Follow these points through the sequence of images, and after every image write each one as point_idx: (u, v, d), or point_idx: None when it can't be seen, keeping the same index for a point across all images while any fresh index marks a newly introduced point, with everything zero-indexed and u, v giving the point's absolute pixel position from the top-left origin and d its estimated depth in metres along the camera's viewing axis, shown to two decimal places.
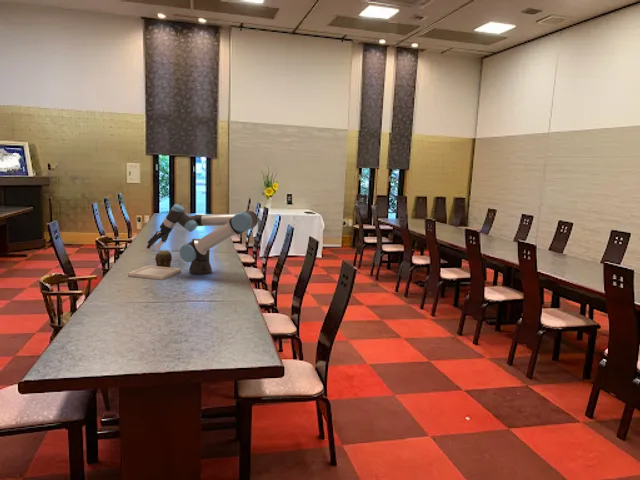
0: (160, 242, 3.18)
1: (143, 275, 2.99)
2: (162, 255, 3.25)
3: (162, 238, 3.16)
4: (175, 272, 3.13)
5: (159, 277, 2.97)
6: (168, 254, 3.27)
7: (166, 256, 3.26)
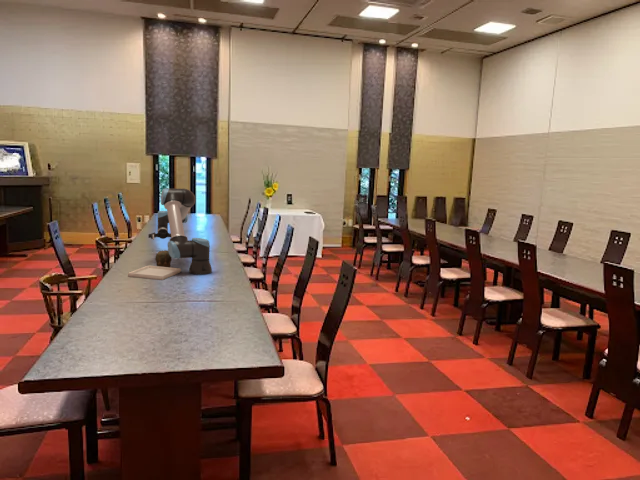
0: None
1: (143, 275, 2.99)
2: (162, 255, 3.25)
3: (171, 236, 3.47)
4: (175, 272, 3.13)
5: (159, 277, 2.97)
6: (168, 254, 3.27)
7: (166, 256, 3.26)
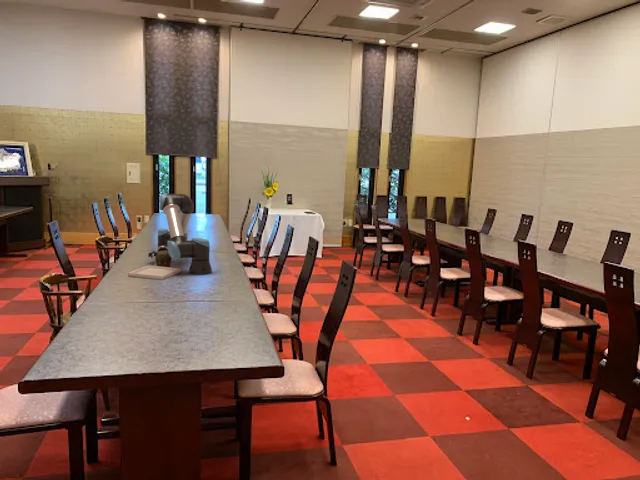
0: None
1: (143, 275, 2.99)
2: (162, 255, 3.25)
3: None
4: (175, 272, 3.13)
5: (159, 277, 2.97)
6: (168, 254, 3.27)
7: (166, 256, 3.26)
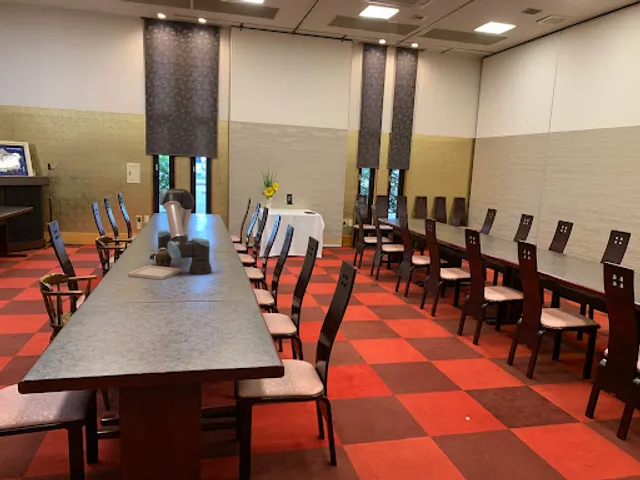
0: None
1: (143, 275, 2.99)
2: (162, 255, 3.25)
3: None
4: (175, 272, 3.13)
5: (159, 277, 2.97)
6: (168, 254, 3.27)
7: (166, 256, 3.26)
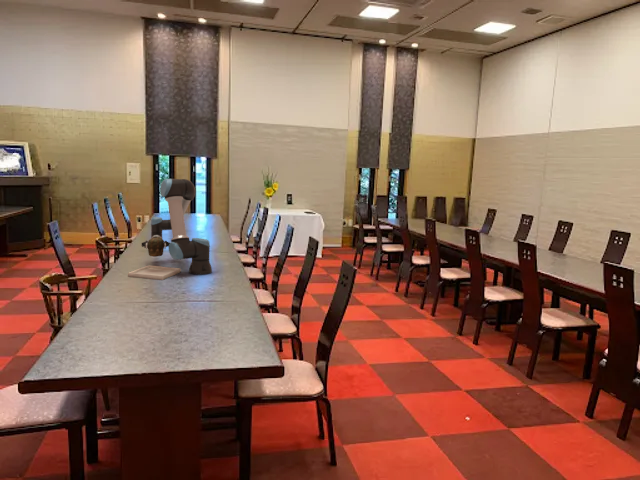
0: None
1: (143, 275, 2.99)
2: (154, 242, 3.10)
3: None
4: (175, 272, 3.13)
5: (159, 277, 2.97)
6: (160, 241, 3.12)
7: (158, 243, 3.10)
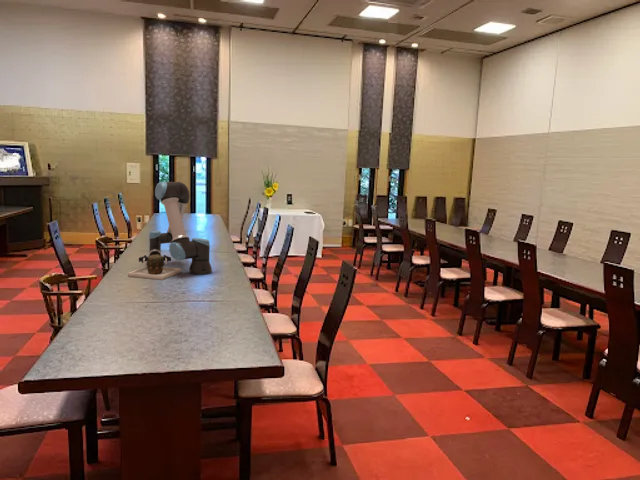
0: None
1: (143, 275, 2.99)
2: (154, 259, 3.05)
3: None
4: (175, 272, 3.13)
5: (159, 277, 2.97)
6: (160, 258, 3.07)
7: (158, 260, 3.06)
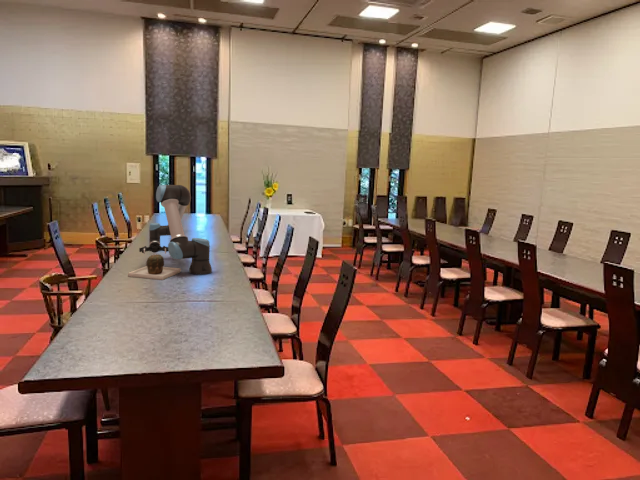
0: None
1: (143, 275, 2.99)
2: (154, 259, 3.05)
3: (163, 249, 3.31)
4: (175, 272, 3.13)
5: (159, 277, 2.97)
6: (160, 258, 3.07)
7: (158, 261, 3.06)
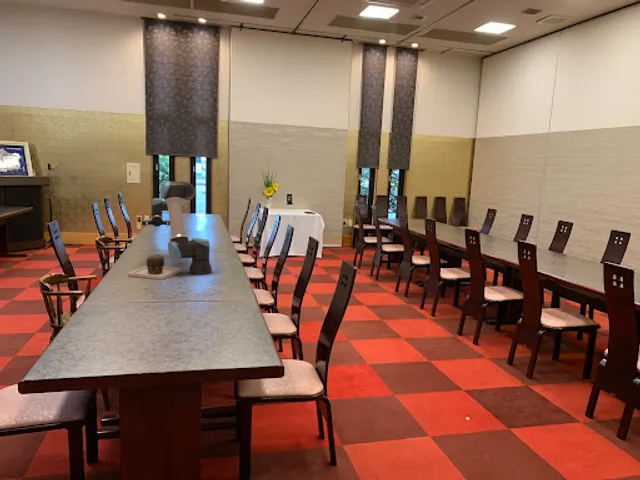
0: None
1: (143, 275, 2.99)
2: (154, 259, 3.05)
3: (165, 223, 3.36)
4: (175, 272, 3.13)
5: (159, 277, 2.97)
6: (160, 258, 3.07)
7: (158, 261, 3.06)
